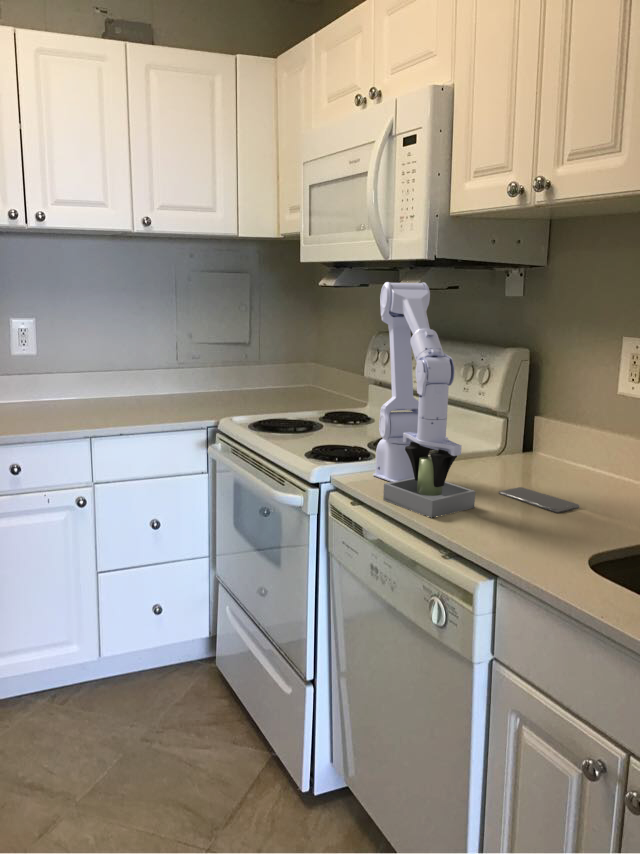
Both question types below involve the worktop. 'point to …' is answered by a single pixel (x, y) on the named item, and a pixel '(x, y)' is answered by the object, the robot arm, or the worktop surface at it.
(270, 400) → the worktop surface
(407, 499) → the grey bin
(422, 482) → the green cylinder
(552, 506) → the smartphone
